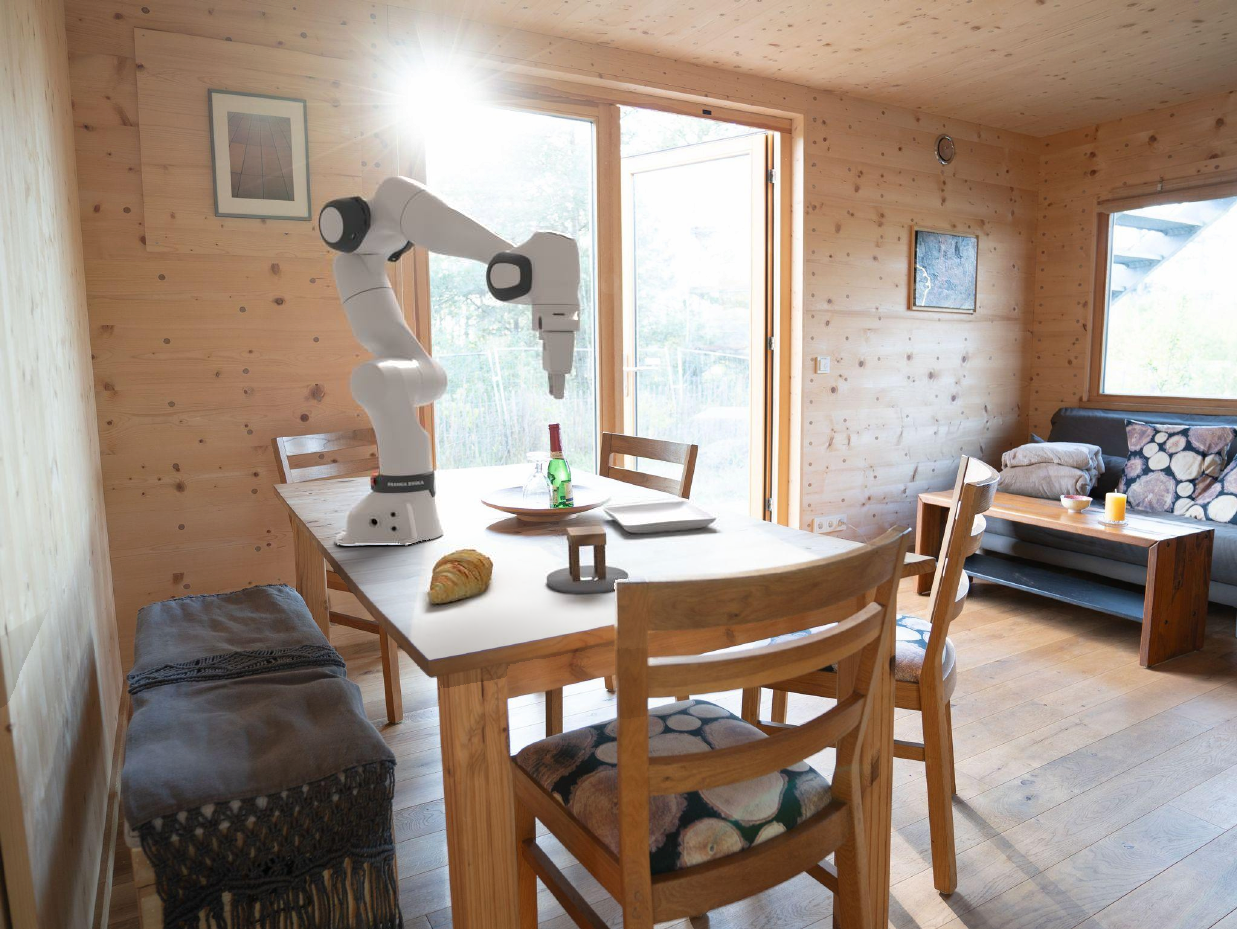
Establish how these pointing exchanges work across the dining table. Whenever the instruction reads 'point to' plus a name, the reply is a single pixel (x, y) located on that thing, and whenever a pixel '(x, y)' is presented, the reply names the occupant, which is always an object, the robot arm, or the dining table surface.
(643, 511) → the salad plate
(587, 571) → the grey flat disc
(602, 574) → the stool
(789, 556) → the dining table surface
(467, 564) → the croissant
